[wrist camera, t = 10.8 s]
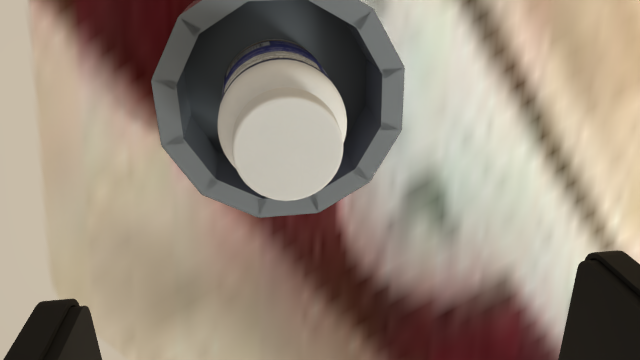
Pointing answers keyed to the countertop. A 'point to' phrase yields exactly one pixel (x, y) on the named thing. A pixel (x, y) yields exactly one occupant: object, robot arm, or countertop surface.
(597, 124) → the countertop surface
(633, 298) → the robot arm
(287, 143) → the pill bottle
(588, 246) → the countertop surface
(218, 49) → the grey faceted bowl
